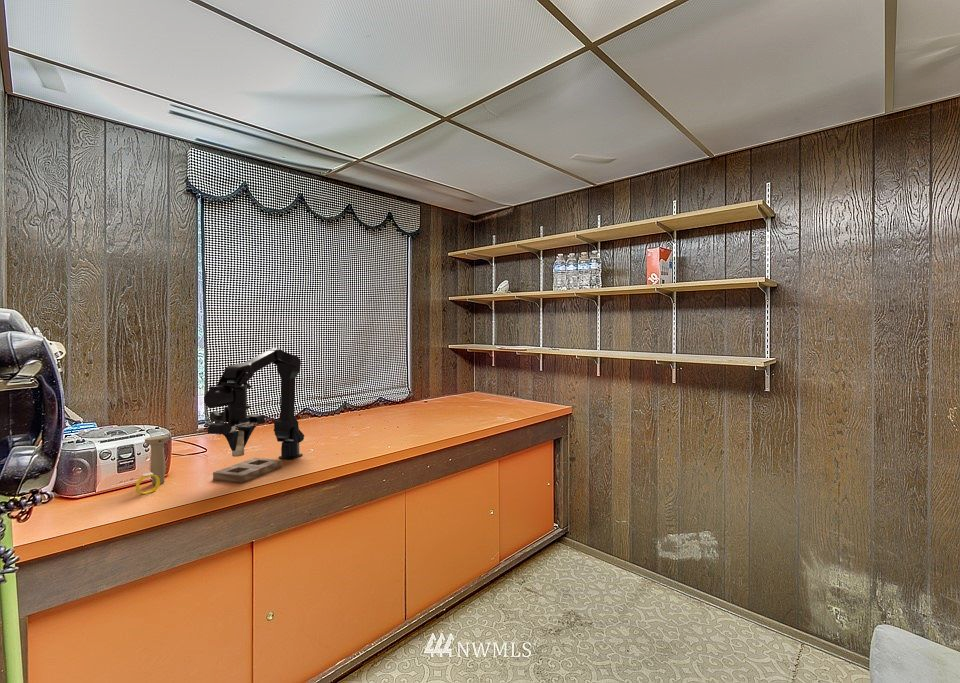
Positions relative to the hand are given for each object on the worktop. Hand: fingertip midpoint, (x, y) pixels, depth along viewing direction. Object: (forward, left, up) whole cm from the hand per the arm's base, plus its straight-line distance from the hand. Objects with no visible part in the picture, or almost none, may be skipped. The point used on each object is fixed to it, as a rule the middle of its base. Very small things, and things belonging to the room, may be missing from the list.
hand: (238, 449), depth 153 cm
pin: (0, 0, -2) cm, 2 cm away
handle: (+13, -20, -10) cm, 26 cm away
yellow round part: (+20, -15, -10) cm, 27 cm away
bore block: (-4, 0, -10) cm, 10 cm away
